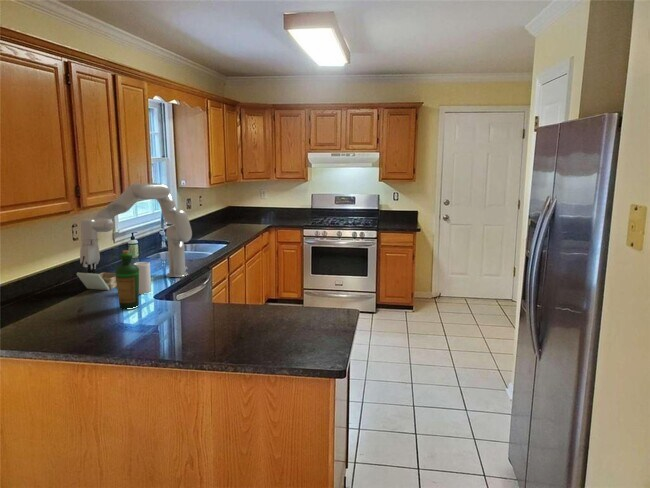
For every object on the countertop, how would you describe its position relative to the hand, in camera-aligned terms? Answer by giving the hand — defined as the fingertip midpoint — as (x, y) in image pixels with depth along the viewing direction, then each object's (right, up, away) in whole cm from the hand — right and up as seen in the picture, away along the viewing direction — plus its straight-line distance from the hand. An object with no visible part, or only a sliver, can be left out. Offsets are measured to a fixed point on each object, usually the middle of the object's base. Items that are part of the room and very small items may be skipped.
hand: (91, 276), depth 243 cm
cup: (+26, -9, +4) cm, 28 cm away
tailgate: (+1, -7, +6) cm, 10 cm away
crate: (+2, -7, +13) cm, 15 cm away
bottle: (+29, -14, -22) cm, 39 cm away
